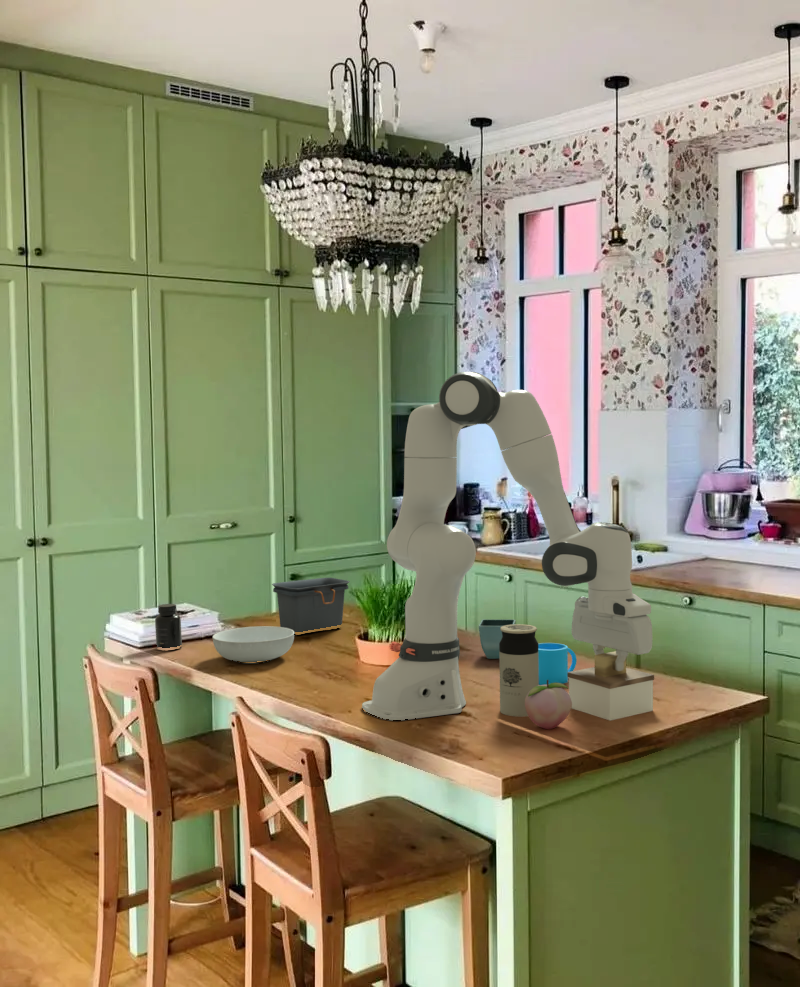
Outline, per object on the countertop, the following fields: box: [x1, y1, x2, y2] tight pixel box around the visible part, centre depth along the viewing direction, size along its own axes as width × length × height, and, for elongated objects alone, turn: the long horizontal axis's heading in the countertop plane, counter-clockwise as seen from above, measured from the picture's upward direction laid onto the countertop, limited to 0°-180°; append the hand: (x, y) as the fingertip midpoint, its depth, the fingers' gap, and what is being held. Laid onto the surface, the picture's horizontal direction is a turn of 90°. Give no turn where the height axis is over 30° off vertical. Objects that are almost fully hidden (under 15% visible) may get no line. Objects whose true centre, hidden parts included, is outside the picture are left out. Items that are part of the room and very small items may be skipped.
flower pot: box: [478, 618, 516, 660], centre depth 274 cm, size 9×9×9 cm
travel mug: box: [498, 623, 539, 718], centre depth 221 cm, size 8×8×18 cm
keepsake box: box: [568, 677, 654, 721], centre depth 222 cm, size 12×12×7 cm
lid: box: [567, 650, 655, 689], centre depth 222 cm, size 12×12×5 cm
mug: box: [538, 642, 578, 685], centre depth 249 cm, size 12×8×8 cm
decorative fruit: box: [525, 680, 572, 730], centre depth 210 cm, size 9×8×10 cm
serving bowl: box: [212, 625, 295, 663], centre depth 277 cm, size 21×21×7 cm
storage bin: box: [271, 577, 350, 632], centre depth 312 cm, size 21×16×14 cm
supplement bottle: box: [154, 603, 183, 648], centre depth 291 cm, size 7×7×12 cm
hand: (610, 668), depth 222 cm, fingers closed on lid, 3 cm apart
